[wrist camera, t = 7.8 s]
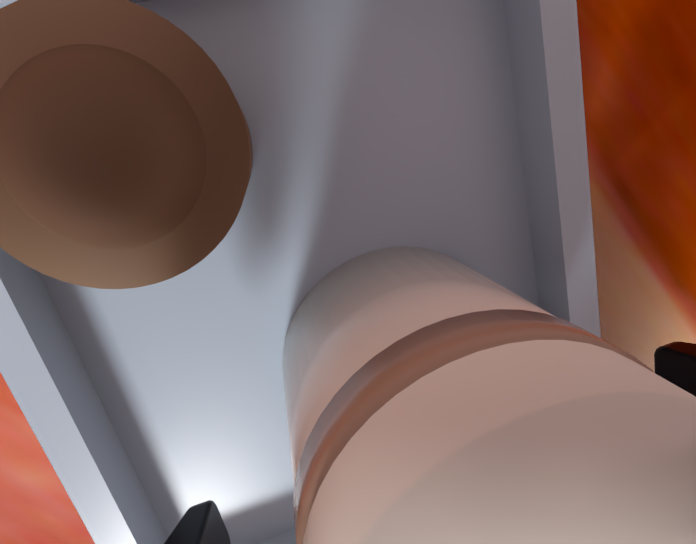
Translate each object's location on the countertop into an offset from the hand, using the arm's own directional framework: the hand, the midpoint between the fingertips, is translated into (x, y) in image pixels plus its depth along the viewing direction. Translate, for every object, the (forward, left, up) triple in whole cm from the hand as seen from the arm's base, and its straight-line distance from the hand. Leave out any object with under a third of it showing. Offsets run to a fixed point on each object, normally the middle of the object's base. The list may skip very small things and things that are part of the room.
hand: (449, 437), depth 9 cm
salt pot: (+6, +4, -4) cm, 8 cm away
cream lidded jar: (0, 0, -4) cm, 4 cm away
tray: (+2, +2, -4) cm, 5 cm away
